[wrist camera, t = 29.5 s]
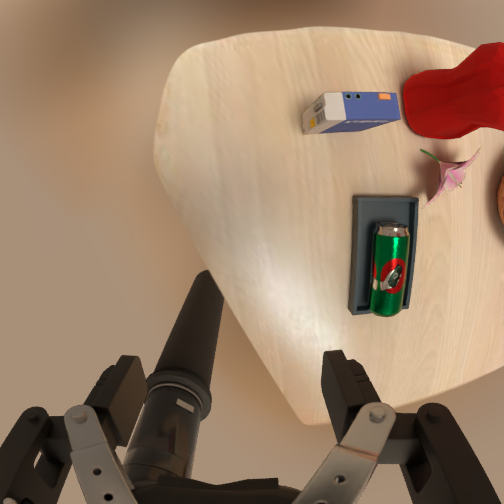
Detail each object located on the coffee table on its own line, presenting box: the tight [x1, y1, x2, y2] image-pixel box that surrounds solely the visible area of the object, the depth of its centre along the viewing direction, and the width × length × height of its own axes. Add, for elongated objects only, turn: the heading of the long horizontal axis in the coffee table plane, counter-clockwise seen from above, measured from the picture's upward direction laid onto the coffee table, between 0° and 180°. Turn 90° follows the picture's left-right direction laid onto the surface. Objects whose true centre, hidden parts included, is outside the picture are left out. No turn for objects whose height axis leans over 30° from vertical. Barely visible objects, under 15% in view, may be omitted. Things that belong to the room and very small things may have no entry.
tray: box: [348, 196, 419, 315], centre depth 39 cm, size 16×9×2 cm, turn 3°
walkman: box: [302, 92, 401, 135], centre depth 30 cm, size 8×3×12 cm, turn 98°
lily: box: [420, 145, 483, 209], centre depth 34 cm, size 12×12×10 cm
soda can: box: [367, 222, 410, 317], centre depth 38 cm, size 5×5×12 cm
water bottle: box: [403, 42, 504, 139], centre depth 23 cm, size 9×11×25 cm
